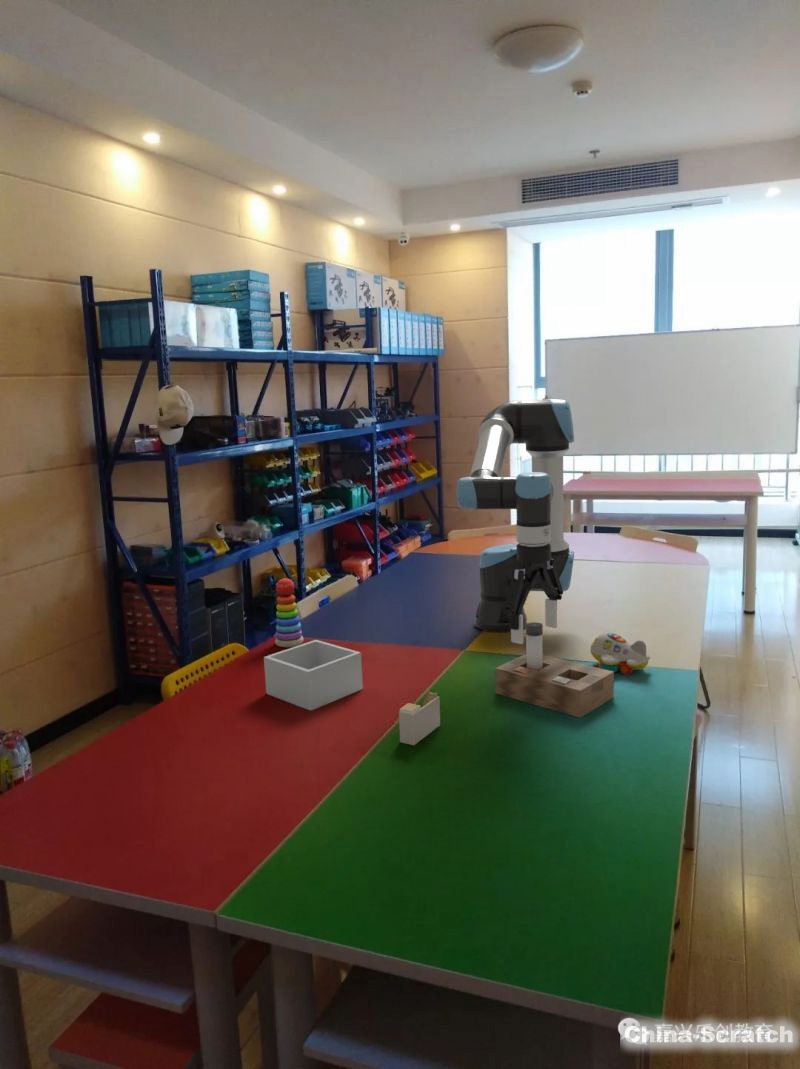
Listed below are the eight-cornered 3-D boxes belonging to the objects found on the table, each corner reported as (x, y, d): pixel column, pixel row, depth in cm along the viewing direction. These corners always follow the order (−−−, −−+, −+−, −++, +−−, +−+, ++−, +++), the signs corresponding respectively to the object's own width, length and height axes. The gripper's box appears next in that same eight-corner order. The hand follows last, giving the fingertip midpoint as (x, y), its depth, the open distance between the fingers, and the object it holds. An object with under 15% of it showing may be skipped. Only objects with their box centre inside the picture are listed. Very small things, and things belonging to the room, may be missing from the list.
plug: (523, 684, 180) (522, 625, 178) (532, 679, 183) (531, 621, 181) (537, 688, 178) (536, 628, 175) (546, 683, 180) (545, 624, 178)
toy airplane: (635, 649, 181) (578, 633, 191) (632, 685, 183) (576, 667, 193) (662, 636, 190) (607, 621, 200) (659, 670, 192) (604, 653, 202)
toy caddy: (266, 693, 185) (263, 657, 183) (318, 674, 196) (316, 639, 195) (310, 710, 174) (308, 671, 172) (362, 689, 185) (360, 652, 184)
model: (400, 744, 157) (398, 707, 156) (427, 724, 166) (425, 689, 164) (413, 747, 155) (412, 710, 154) (440, 727, 164) (439, 692, 163)
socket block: (495, 693, 180) (495, 666, 179) (530, 675, 190) (530, 650, 188) (580, 717, 165) (580, 689, 164) (613, 697, 175) (613, 670, 173)
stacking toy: (309, 640, 223) (305, 576, 220) (293, 649, 216) (289, 583, 212) (285, 638, 226) (281, 574, 223) (269, 646, 219) (265, 581, 216)
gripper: (514, 555, 163) (516, 653, 167) (578, 534, 181) (578, 623, 185) (485, 551, 168) (487, 646, 172) (550, 531, 186) (550, 617, 190)
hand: (534, 634), depth 179 cm, fingers open, 13 cm apart
